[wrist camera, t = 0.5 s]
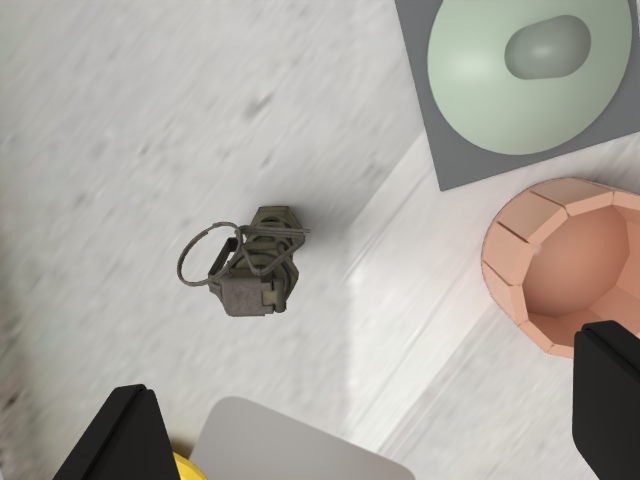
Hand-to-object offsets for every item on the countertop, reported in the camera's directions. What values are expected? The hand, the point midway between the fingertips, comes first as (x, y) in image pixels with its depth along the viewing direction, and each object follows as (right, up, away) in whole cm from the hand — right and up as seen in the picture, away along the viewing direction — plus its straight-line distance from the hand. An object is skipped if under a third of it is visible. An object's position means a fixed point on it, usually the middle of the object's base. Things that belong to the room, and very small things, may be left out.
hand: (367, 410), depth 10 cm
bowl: (+21, +3, +33) cm, 39 cm away
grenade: (-6, +5, +32) cm, 33 cm away
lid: (+16, +19, +27) cm, 36 cm away
